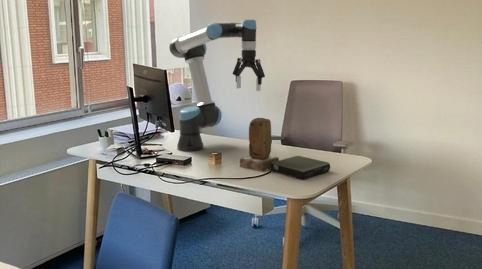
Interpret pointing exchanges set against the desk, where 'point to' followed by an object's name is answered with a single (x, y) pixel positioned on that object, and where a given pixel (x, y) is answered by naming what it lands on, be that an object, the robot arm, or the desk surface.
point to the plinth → (257, 163)
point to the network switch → (300, 167)
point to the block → (260, 138)
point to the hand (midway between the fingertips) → (248, 89)
